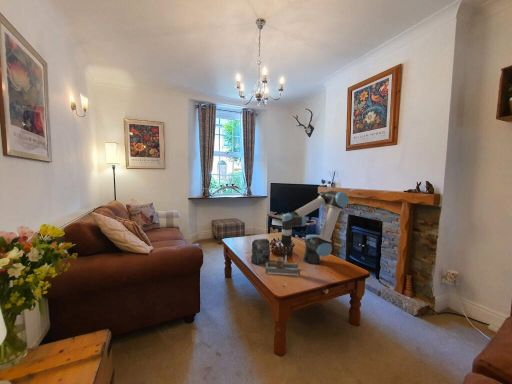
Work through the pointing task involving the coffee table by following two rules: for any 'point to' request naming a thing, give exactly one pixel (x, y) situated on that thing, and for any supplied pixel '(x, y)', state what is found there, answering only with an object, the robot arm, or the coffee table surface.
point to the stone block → (260, 251)
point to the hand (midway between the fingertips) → (285, 263)
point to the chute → (282, 269)
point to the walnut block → (279, 262)
